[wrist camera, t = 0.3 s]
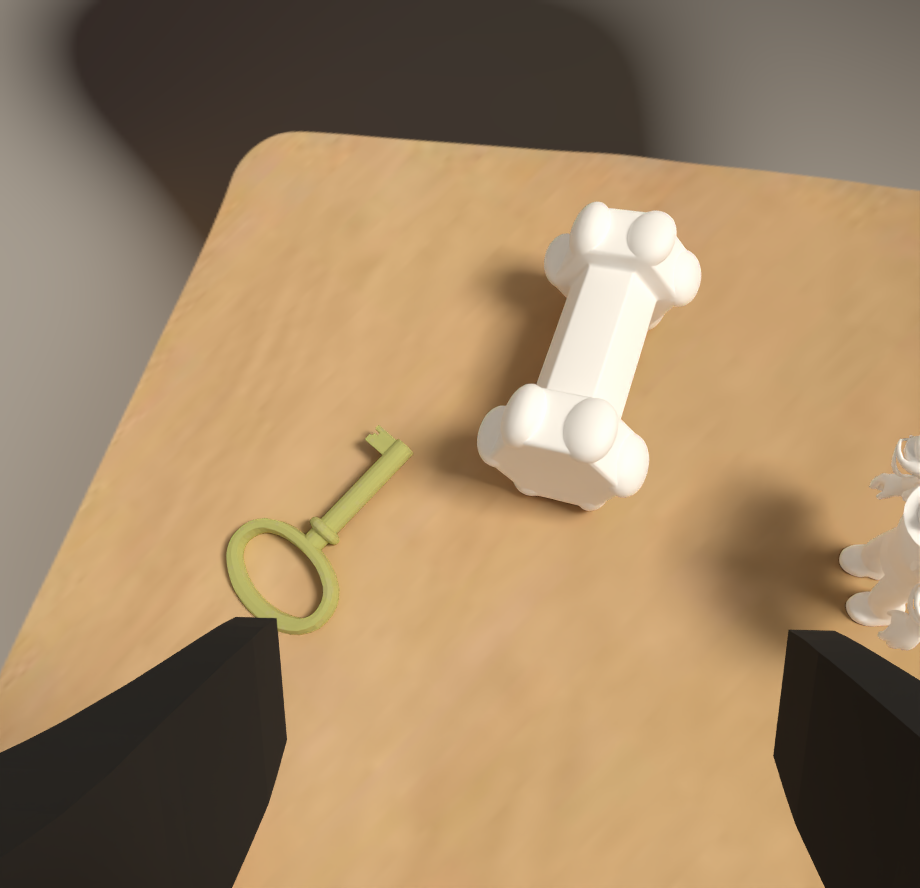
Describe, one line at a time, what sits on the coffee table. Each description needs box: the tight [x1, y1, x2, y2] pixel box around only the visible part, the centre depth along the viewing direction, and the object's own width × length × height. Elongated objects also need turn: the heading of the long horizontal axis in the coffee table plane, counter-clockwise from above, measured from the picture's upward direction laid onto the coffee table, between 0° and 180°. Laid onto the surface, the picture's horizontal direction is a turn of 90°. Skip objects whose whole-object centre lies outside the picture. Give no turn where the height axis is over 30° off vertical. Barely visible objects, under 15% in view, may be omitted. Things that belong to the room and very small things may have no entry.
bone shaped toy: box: [477, 202, 701, 511], centre depth 42 cm, size 15×9×8 cm, turn 160°
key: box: [226, 425, 413, 635], centre depth 43 cm, size 7×12×2 cm, turn 154°
